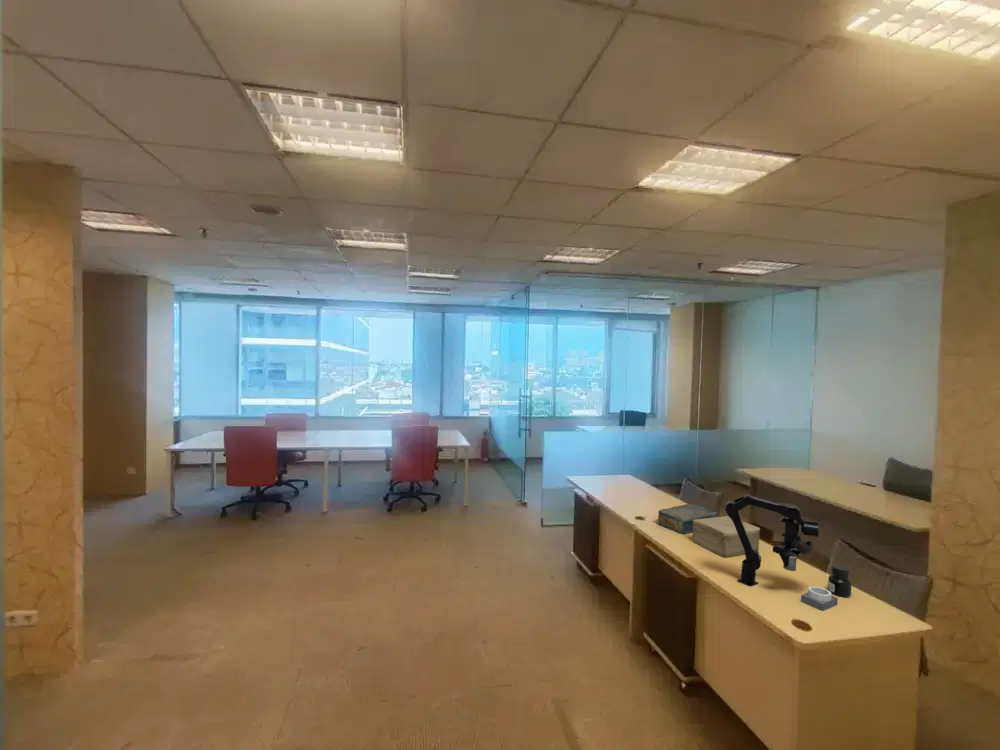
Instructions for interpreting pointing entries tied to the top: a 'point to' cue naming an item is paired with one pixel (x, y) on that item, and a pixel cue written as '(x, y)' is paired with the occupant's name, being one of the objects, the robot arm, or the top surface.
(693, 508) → the metal box
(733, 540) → the paper package
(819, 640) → the top surface
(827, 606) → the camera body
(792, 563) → the lens
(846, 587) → the ink bottle
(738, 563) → the top surface
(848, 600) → the top surface
